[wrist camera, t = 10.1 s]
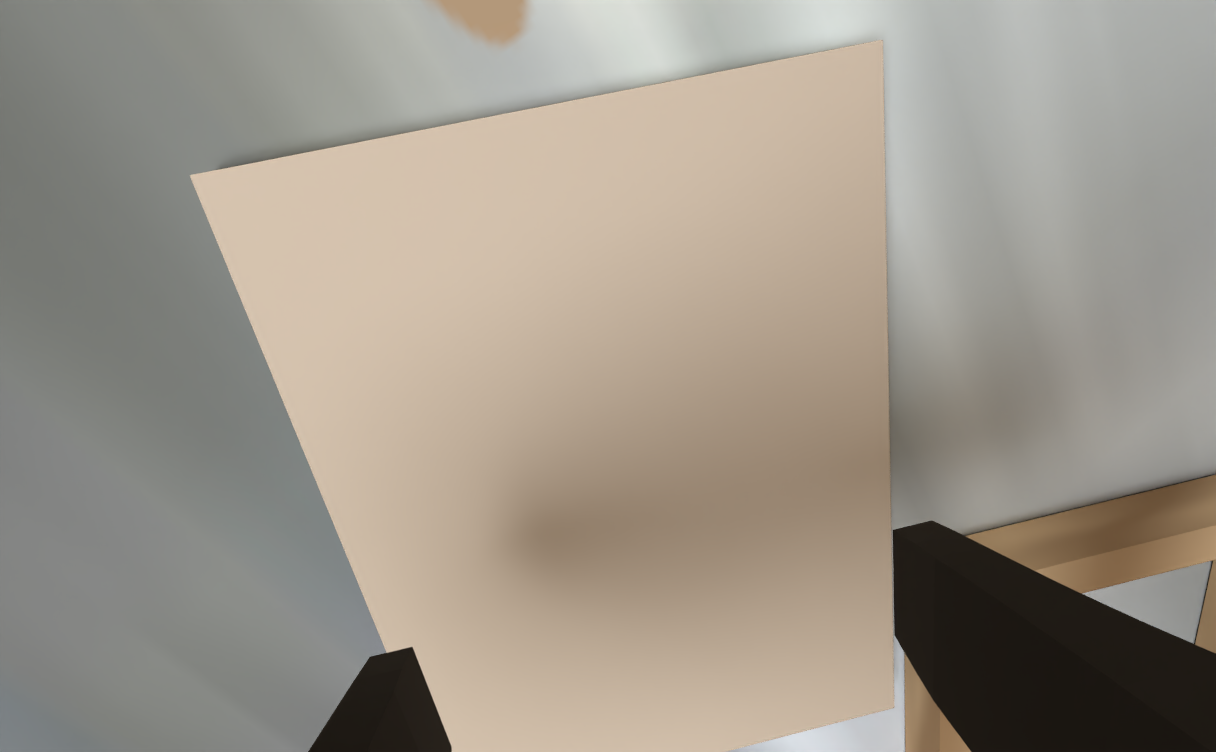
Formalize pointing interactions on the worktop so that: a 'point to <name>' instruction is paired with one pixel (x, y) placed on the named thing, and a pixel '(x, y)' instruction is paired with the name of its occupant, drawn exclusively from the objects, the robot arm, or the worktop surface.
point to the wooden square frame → (1092, 568)
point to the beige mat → (601, 400)
